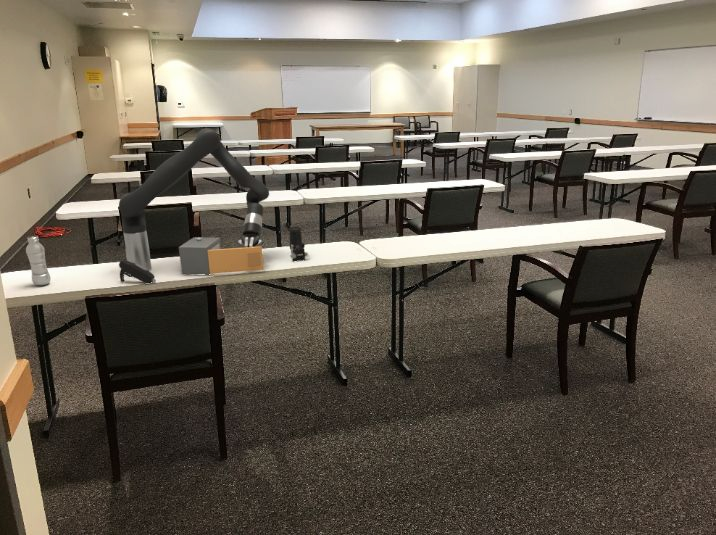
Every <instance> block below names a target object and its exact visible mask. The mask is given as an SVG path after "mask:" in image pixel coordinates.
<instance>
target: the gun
mask: <svg viewBox="0 0 716 535" xmlns="http://www.w3.org/2000/svg"><path fill="white" fill-rule="evenodd" d="M118 266H119V268H120V271H119V279H120V281H121V282H122V283H124V282H125V276H127V277H129V278H131V277H133V278H134V279H136V280H138V281H140V282H142V283H144V284H145V283H151V282H152V283H156V281H157V280H156V278H155V275H154V274H153V273H152V272H151V270H149V271H148V270H147V269H145V268H143V267H141V266H140V265H138V264H135V263H132V262H129V261H127V259H122V260H119V262H118ZM152 283H151V284H152Z"/></svg>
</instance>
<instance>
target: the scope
mask: <svg viewBox="0 0 716 535" xmlns="http://www.w3.org/2000/svg"><path fill="white" fill-rule="evenodd" d="M288 229H289V230H288V231H289V250H290V255H289V257H290V258H291V261H292V262H294V261H297V260H300V261H303V260H304V261H306V257H307V256H308V255H309V252H307V251H305V247H306V246H305V243H304V242H303V241H302V240H303V239H302V227H301V226H291V227H289V228H288ZM297 262H298V261H297ZM294 263H295V262H294Z"/></svg>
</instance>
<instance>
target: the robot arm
mask: <svg viewBox="0 0 716 535" xmlns="http://www.w3.org/2000/svg"><path fill="white" fill-rule="evenodd" d="M208 155H211V156H212V157H213V158H214V159H215V160H216V161H218V163H219V164H220V165H221V167H222V168H224V170H225V171H226V172H227V173H228V175H229V176H230V177H231V178H232V180H234V182H235V183H236V184H237V185H238V186H240V188H242V189H247V188H248V191H247V192H246V194H245V198H246V207H247V209H246V216H245V219H244V223H243V230H242V236H241V237H240V239H239V240H235V244H236V246H237V248H243V246H244V248H245V247H259V246H262V248H264V247H265V246H266V244H265V242H264V240H262V239H261V233H262V227H263V216H264V206H263V205H262V204H260V203H261V202H263V201H264V200H267V199H268V198H269V197H270V190H269V189H268V187H267V185H266V184H265V183H264V182H262V181H261V180H259V179H257V178H256V177H254V176H253V175H252V174H251V173H250V171H248V170H247V169H246V167H245V166H244V165H242V164H241V162H240V161H238V159H237V158H236V157H234V156H233V154H231V153H230V152H229V150H228V149H227V148H226V147H225V146H224V144H223V142H222V141H221V137H220V135H219V133H218V132H217V131H216V130H214V129H212V128H207V127H205V128H202V129H200V130H199V131H198V133H197V134H196V137H195V139H194V140H193V141H192V142H191V143H190V144H189V145H188V146H187V147H186V148H184V149H183V150H181V151H179V152H176V153H175V154H174V155H172V156H170V157H168V159H166V160H165V161H163V162H162V164H160V165H159V166H158V167H157V168H155V169H154V171H153V172H152V173H151V174H150V175H149V176H148V177H147V178H146V180H145V181H144V182H143V183H142V184H141V185H140V186H139V187H138V188H136V189H134V190H133V191H132V192H126V193H125V194H123V195H122V196H121V197H120V200H119V202H118V209H119V212H120V215H121V222H122V223H121V226H122V232H123V238H124V239H123V240H124V245H125V250H124V251H125V257H126V260H127V261H129V262H132V263H135V264H138V265H140V266H141V267H143V268H145V269H147V270H148V271H151V270H152V267H153V266H152V262H151V254H150V253H151V251H150V246H149V239H148V233H147V225H146V224H147V223H146V216H145V215H146V214H145V208H146V207H147V206H149V205H150V203H152V201H154V200H155V199H156V198H157V197H158V196H160V195H161V194H163V193H165V192H166V191H167V190H169V188H171V187H172V186H174V185H175V184H176V183H177V182H179V180H181V179H182V178H183V177H184V176H185V175H186V174H188V172H190V171H191V170H192V169H193V168H194V166H196V164H197V163H199V162H200V161H201V160H202V159H204V158H205V157H207V156H208ZM242 245H243V246H242Z"/></svg>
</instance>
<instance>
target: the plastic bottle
mask: <svg viewBox="0 0 716 535" xmlns="http://www.w3.org/2000/svg"><path fill="white" fill-rule="evenodd" d="M39 241H40V239H39V236H38V235H30V236H29V235H28V236H27V242H28V244H27V246H26V247H25V253H26V256H27V258H28V261H29V264H30V269H31V270H30V271H31V281H32V284H34V286H46V285H48V284H50V282H51V278H52V277H51V274H50V273H49V271H48V270H49V269H48V267H47V263H46V256H45V255H46V253H45V252H46V251H45V247H44V246H43V245H42V243H40V242H39Z"/></svg>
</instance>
